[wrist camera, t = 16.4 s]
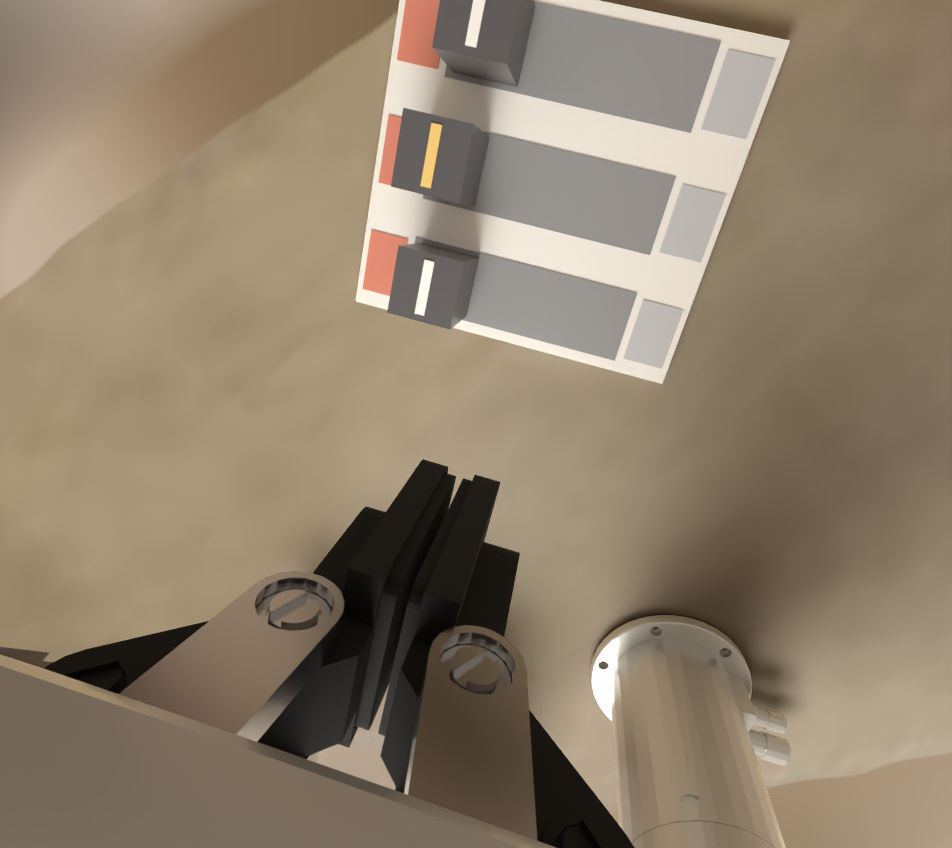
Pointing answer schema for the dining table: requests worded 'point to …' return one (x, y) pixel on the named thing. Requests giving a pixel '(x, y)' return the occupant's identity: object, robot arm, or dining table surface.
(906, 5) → the dining table surface
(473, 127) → the toggle
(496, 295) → the panel
